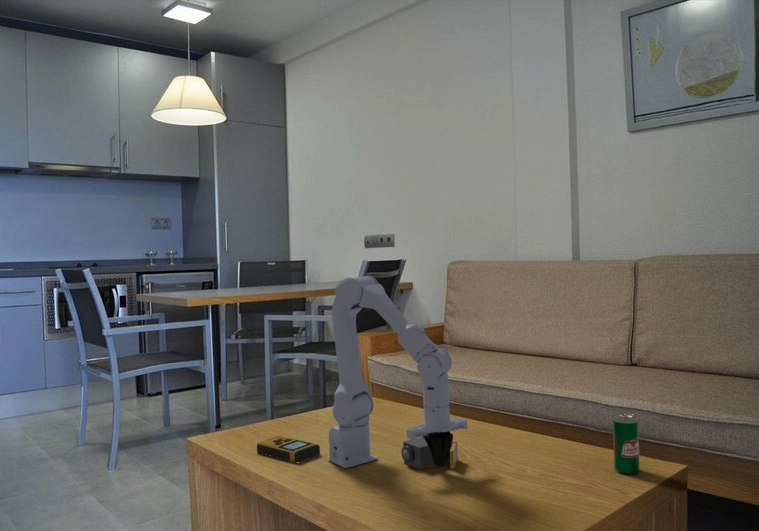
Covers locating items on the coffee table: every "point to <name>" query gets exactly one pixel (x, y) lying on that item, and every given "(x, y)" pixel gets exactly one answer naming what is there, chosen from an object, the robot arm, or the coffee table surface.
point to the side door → (453, 455)
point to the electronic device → (288, 448)
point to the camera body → (420, 453)
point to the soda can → (626, 443)
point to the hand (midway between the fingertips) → (439, 465)
